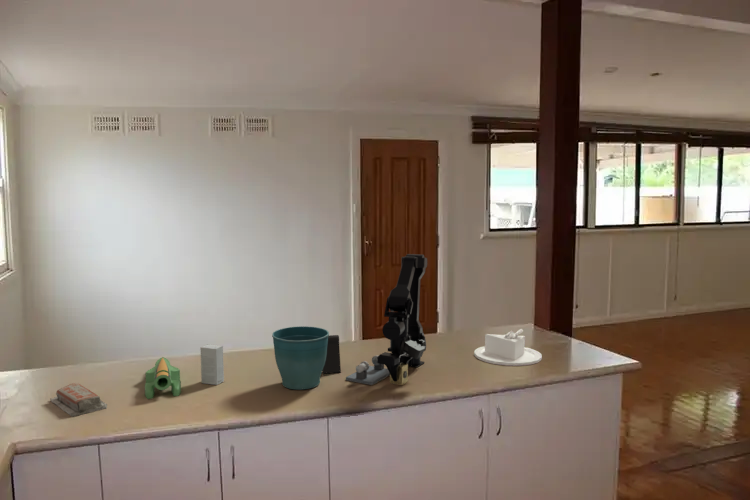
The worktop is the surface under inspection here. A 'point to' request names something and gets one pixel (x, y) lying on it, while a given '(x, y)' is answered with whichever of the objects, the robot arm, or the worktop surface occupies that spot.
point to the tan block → (401, 375)
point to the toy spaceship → (162, 378)
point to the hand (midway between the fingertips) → (398, 379)
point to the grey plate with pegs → (369, 372)
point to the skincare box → (212, 364)
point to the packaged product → (77, 400)
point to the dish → (507, 350)
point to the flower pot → (300, 355)
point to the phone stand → (332, 356)
